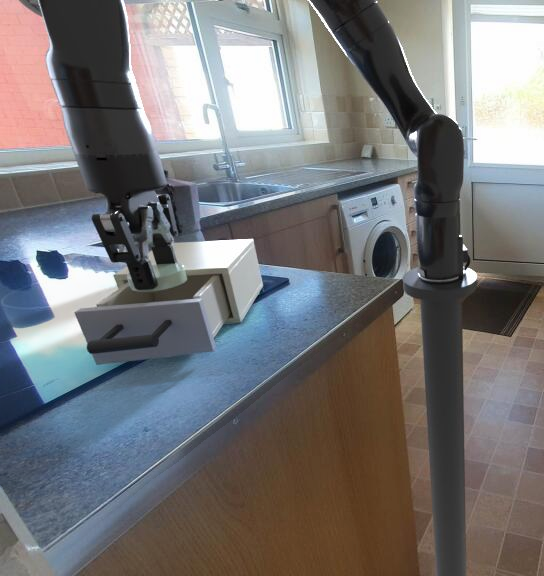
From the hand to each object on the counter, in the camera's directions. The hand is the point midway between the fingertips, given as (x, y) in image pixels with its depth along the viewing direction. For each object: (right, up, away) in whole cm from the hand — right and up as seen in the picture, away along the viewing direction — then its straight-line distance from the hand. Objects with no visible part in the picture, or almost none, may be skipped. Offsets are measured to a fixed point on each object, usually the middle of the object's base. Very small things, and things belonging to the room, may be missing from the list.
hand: (158, 279), depth 55 cm
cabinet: (-4, -4, +14) cm, 15 cm away
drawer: (0, -9, +2) cm, 9 cm away
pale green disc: (0, -1, 0) cm, 1 cm away
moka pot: (-19, +3, +30) cm, 35 cm away
